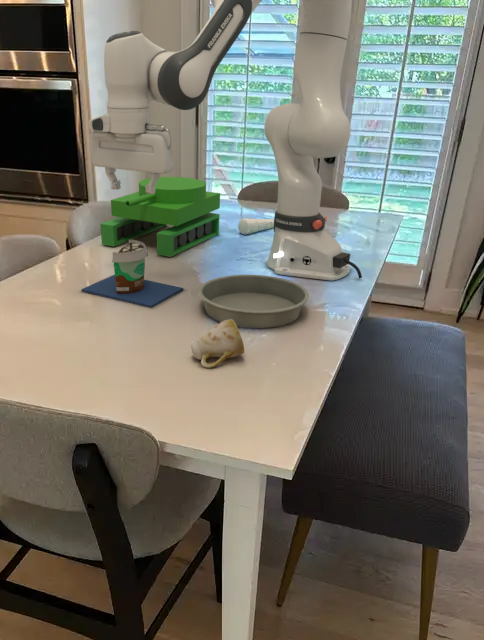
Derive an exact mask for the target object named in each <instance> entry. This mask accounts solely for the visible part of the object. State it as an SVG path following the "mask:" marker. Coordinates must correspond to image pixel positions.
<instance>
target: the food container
mask: <svg viewBox="0 0 484 640" xmlns="http://www.w3.org/2000/svg"><path fill="white" fill-rule="evenodd" d="M148 256H149V255H148V250H147V246H146V244H145V243H144V242H143V241H139V240H136V239H132V240H129V241H128V244H127V245H125V246H123V247H121V248H120V250H118V252H112V256H111V257H112V258H111V260H112V261H111V262H112V263H113V271H114V275H115V282H116V292H117V294H131V293H136V292H139V291H141V290H143V288H144V280H145V269H146V267H145V266H146V265H145V263H146V258H147V257H148Z"/></svg>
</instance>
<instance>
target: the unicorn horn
mask: <svg viewBox="0 0 484 640" xmlns="http://www.w3.org/2000/svg"><path fill="white" fill-rule="evenodd" d="M237 228H238V231H239V233H240V234H242V235H249V234H254V233H258V232H262V231H265V230H269V229H274V218H273V219H271V218H247V217H246V218H241V219H240V220H239V221H238V225H237Z"/></svg>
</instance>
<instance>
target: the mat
mask: <svg viewBox="0 0 484 640" xmlns="http://www.w3.org/2000/svg"><path fill="white" fill-rule="evenodd" d="M183 291H184V287H181V286H176V285H171V284H167V283H162V282H157V281H153V280H148V279H144V288H143V290H141V291H139V292H136V293H131V294H117V292H116V282H115V274H113V275H110V276H108V277H106V278H104V279H102V280H99V281H97V282H94V283H92V284H90V285H88V286H86V287H84V288H81V293H82V292H83V293H87V294H91V295H96V296H99V297H103V298H109V299H113V300H116V301H121V302H125V303H129V304H133V305H138V306H142V307H147V308H151V309H152V308H154V307H156V306H158V305H159V304H161V303H163V302H164V301H166V300H168V299H170V298H172V297H174V296H176V295H177V294H179V293H181V292H183Z"/></svg>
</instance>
